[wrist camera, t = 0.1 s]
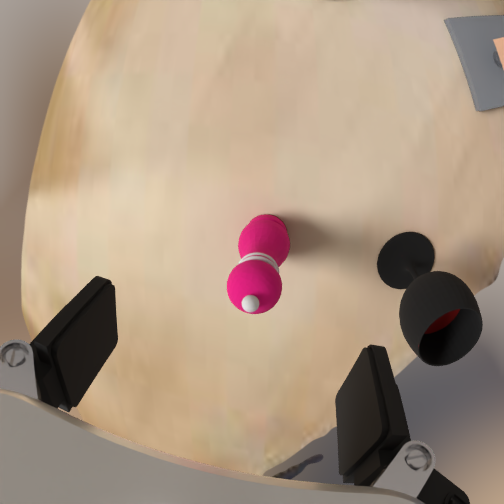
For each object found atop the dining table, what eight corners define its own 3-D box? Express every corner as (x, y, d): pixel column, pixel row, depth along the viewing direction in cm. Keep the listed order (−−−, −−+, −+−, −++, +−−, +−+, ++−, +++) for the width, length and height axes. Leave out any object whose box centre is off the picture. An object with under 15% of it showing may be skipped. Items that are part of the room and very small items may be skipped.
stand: (444, 20, 31) (447, 18, 29) (507, 16, 27) (512, 15, 25) (476, 110, 36) (480, 111, 35) (534, 98, 32) (539, 99, 31)
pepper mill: (252, 203, 47) (225, 265, 29) (297, 221, 48) (298, 292, 30) (237, 245, 51) (205, 322, 33) (280, 261, 51) (270, 345, 33)
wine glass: (395, 298, 51) (429, 383, 33) (364, 257, 49) (396, 338, 31) (443, 264, 47) (496, 337, 29) (416, 218, 45) (474, 283, 27)
